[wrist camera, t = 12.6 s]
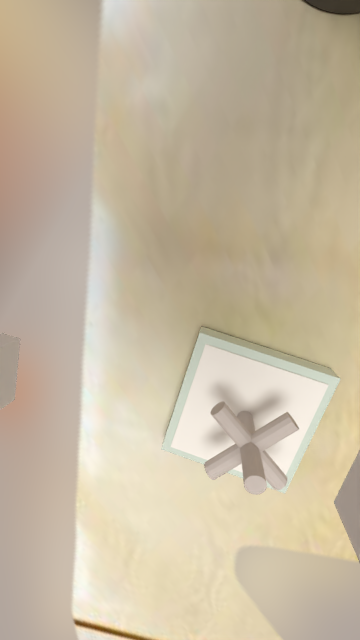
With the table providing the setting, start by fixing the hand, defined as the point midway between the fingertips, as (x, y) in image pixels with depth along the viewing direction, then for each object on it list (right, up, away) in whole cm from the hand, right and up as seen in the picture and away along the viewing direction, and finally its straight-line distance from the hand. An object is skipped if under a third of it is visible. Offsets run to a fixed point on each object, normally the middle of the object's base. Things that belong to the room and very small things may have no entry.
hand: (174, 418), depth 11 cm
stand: (+8, -7, +25) cm, 28 cm away
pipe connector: (+8, -8, +22) cm, 25 cm away
